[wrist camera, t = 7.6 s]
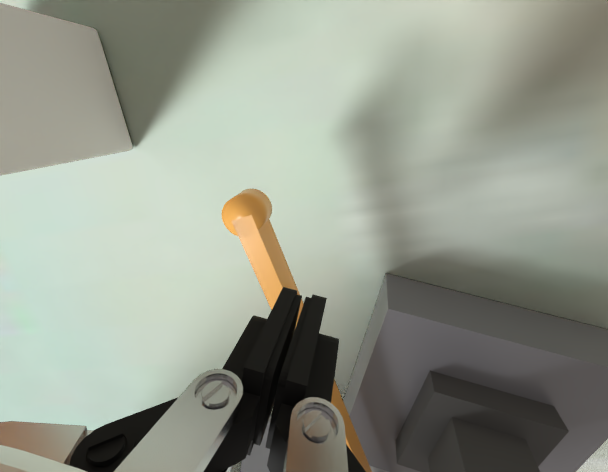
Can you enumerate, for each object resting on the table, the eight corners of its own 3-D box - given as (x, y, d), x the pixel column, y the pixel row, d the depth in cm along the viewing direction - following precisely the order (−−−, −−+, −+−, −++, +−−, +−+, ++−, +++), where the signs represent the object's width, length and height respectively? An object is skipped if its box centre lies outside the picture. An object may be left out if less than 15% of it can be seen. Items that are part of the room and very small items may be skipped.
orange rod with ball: (405, 527, 22) (407, 554, 21) (369, 524, 23) (369, 551, 21) (270, 181, 14) (259, 189, 12) (222, 197, 15) (207, 206, 13)
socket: (492, 479, 26) (519, 565, 21) (333, 428, 28) (324, 498, 23) (608, 329, 19) (689, 408, 14) (385, 273, 21) (389, 326, 16)
